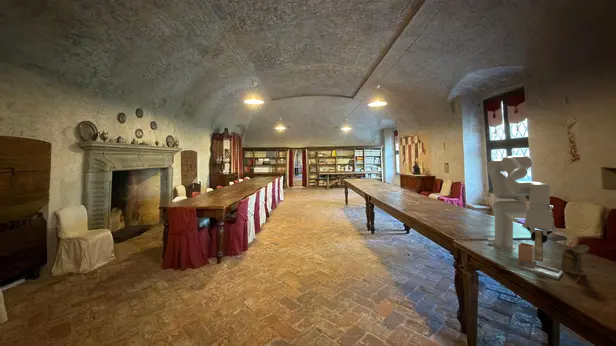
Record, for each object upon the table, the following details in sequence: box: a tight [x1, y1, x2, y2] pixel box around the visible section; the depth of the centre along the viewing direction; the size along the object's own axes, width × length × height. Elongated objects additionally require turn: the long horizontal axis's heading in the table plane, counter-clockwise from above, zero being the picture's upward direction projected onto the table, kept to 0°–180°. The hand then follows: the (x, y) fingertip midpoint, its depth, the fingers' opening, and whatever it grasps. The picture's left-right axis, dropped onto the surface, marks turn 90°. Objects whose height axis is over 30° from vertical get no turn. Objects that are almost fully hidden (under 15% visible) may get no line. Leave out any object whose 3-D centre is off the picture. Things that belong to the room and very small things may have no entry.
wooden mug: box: [558, 243, 591, 277], centre depth 117 cm, size 9×14×18 cm, turn 154°
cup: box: [517, 242, 536, 264], centre depth 132 cm, size 6×6×10 cm
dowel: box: [534, 229, 544, 263], centre depth 120 cm, size 3×3×16 cm
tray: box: [514, 260, 564, 280], centre depth 121 cm, size 16×10×2 cm, turn 33°
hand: (538, 241), depth 120 cm, fingers closed on dowel, 3 cm apart
